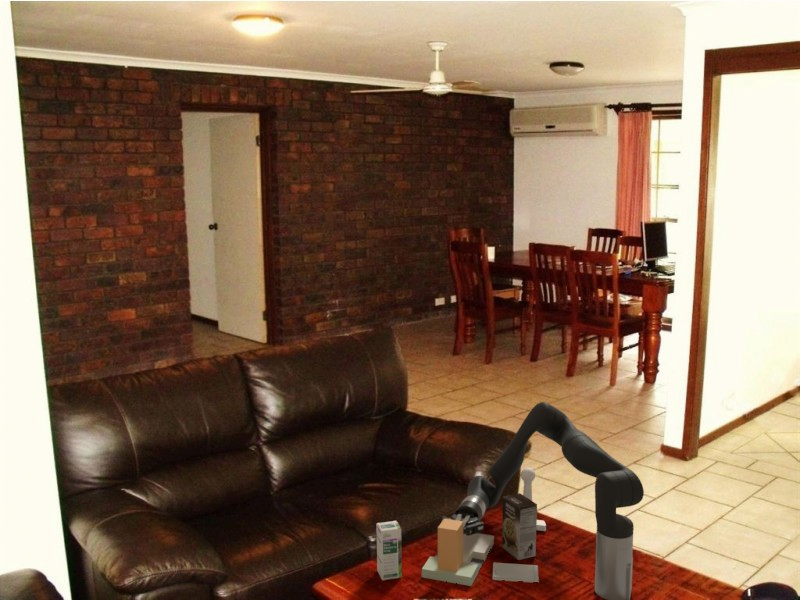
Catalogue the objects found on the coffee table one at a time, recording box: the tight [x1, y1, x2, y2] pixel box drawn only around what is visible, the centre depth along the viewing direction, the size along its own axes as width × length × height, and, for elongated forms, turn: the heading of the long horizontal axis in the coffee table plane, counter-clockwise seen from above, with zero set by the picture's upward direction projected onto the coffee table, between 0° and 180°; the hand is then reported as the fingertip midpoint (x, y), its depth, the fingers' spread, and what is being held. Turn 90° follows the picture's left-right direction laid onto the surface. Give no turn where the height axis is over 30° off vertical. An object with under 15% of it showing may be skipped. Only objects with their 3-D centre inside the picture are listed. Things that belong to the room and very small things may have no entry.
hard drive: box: [492, 562, 540, 584], centre depth 215 cm, size 2×8×12 cm
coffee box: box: [501, 492, 538, 561], centre depth 226 cm, size 9×6×16 cm
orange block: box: [437, 519, 463, 572], centre depth 214 cm, size 6×6×12 cm
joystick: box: [520, 467, 547, 532], centre depth 239 cm, size 11×8×20 cm
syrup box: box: [375, 520, 403, 581], centre depth 214 cm, size 6×6×14 cm
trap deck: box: [421, 532, 495, 587], centre depth 223 cm, size 14×26×2 cm, turn 160°
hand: (454, 536), depth 217 cm, fingers closed
